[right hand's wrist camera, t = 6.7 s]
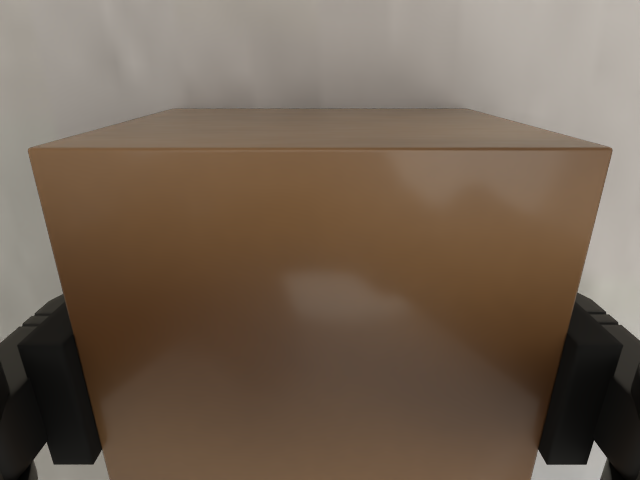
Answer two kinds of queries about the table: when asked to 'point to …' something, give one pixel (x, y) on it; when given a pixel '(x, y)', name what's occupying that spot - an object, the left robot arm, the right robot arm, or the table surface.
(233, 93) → the table surface
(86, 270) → the wide beam
